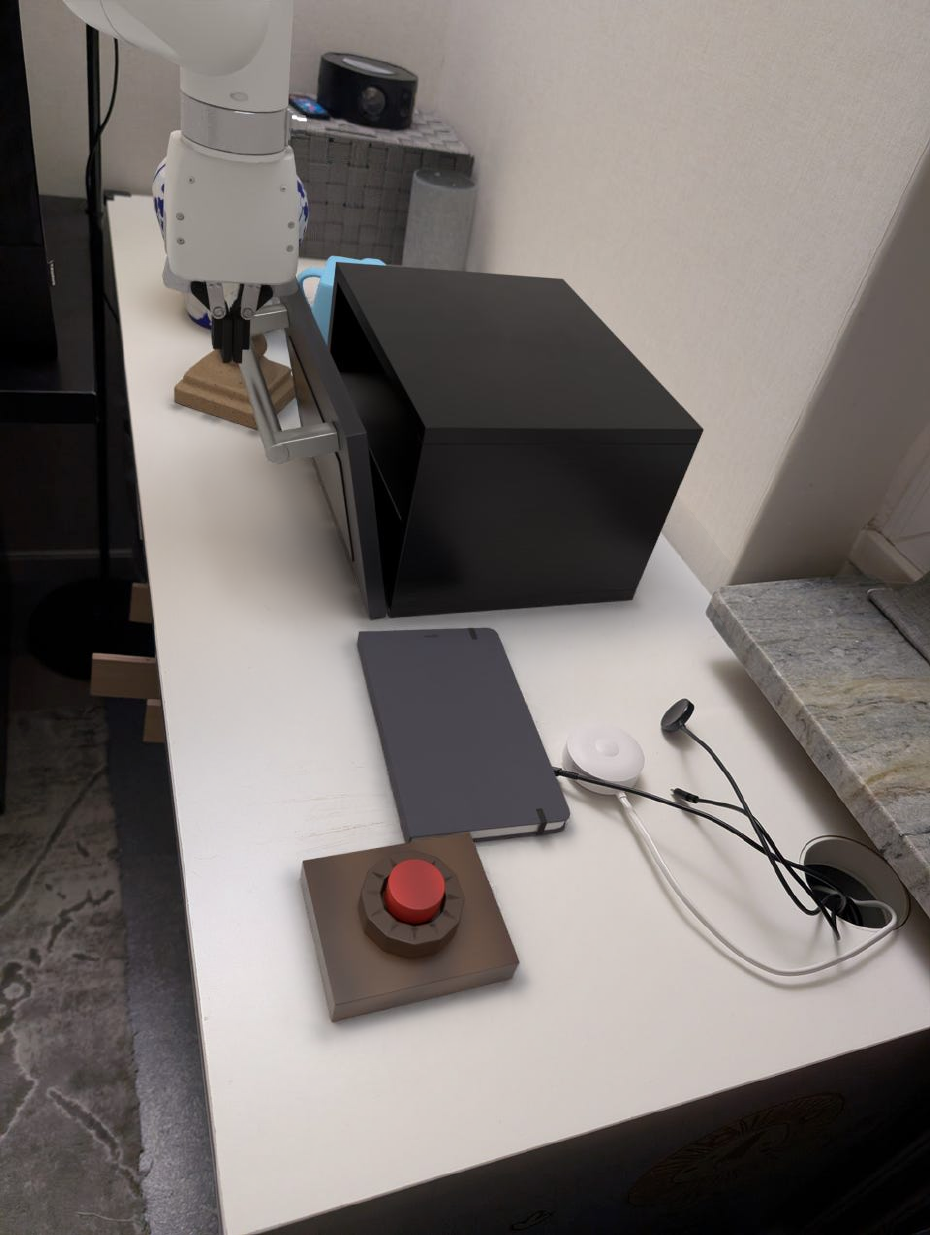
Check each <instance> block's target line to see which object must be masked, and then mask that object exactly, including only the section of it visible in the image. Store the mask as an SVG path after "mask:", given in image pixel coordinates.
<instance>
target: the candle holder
mask: <svg viewBox="0 0 930 1235" xmlns="http://www.w3.org/2000/svg"><path fill="white" fill-rule="evenodd" d="M222 286H223V293H224V300H225V301H226V302H227V305H228V308H229V311H230V307H232V304H233V302H234V301H235V300H236V295H237V290H238V283H222ZM266 305H273V304H272V302H271V300H269V301H268V302H267V303H266V304H264V305H263V306H266ZM207 314H208V317H209V319H210V321H211V322H212V314H211V312H210V311H209V310H208V309H207ZM266 332H267V331H265V332H259V333H253V334H250V337H251V340H252V343H253V346H254V349H255V352H256V355H257V358H258V361H259V364H260V367H261V370H262V373H263V376H264V379H265V382H266V385H267V388H268V391H269V394H270V397H271V400H272V403H273V405H274V408H275V411H276V414H277V415H278V414H279V413H280V412H281V411H282V410H283V409H284V408H285V407H286V406H287V405H288V404H289V403H290V402H291V401H292V400H294V399H295V398H296V394H295V388H294V382H293V376H292V371H291V367H289V366H287V365H285V364H282V363H279V362H276V361H274V360H271V359H269V358H268V357H266V356H265V354H266V353H267V350H268V341H267V338H266V337H265V335H264V334H265V333H266ZM173 391H174V392H173V401H174V402H175V403H177V404H178V405H179V404H180V405H181V406H185V407H188V408H190V409H193V410H197V411H199V412H203V413H206V414H209V415H211V416H214V417H218V418H221V419H224V420H227V421H229V422H232V423H236V424H238V425H242V426H245V427H248V428H251V429H254V430H258V426H257V423H256V420H255V416H254V413H253V410H252V407H251V403H250V400H249V397H248V393H247V390H246V387H245V383H244V380H243V377H242V374H241V370H240V367H239V364H236V363H235V362H233V359H232V362H229V363H223V362H222V358H221V354H220V351H219V349H213V350H212V351H210V352H209V353H208V354H206V355H205V356H204V357H202V358H201V359H199V360H198V361H197V362H196V363H195V364H193V365H192V366H191V367H189V369H188V370H187V371H186V372H184V374H183V376H182V379H181V380H180V381H179V382H177V384H175V385H174V388H173Z"/></svg>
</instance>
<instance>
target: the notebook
mask: <svg viewBox="0 0 930 1235" xmlns="http://www.w3.org/2000/svg"><path fill="white" fill-rule="evenodd" d="M356 647H357V650H358V651H357V652H358V654H359V658H360V663H361V667H362V671H363V676H364V680H365V682H366V687H367V692H368V696H369V700H370V704H371V708H372V713H373V714H374V715H373V716H374V720H375V724H376V728H377V732H378V737H379V740H380V745H381V749H382V753H383V757H384V761H385V765H386V770H387V774H388V777H389V781H390V785H391V790H392V794H393V798H394V801H395V806H396V810H397V815H398V818H399V822H400V827H401V830H402V835H403V839H404V843H409V842H415V841H421V840H427V839H432V838H438V837H444V836H450V835H456V834H462V833H468V832H470V834H471V836H472V839H473V842H474V843H476V842H484V841H485V842H486V841H492V840H500V839H501V840H503V839H509V838H510V839H511V838H519V837H528V836H529V837H530V836H539V835H541V836H542V835H545V834H546V835H547V834H553V833H554V834H555V833H560V832H562V831H563V830H565V828H566V821H568V820H570V817H571V811H570V807H569V805H568V803H567V800H566V797H565V796H564V793H563V792H564V791H563V790H562V787H561V785H560V783H559V780H558V778H557V775H556V772H555V771H554V768H553V766H552V762H551V760H550V759H549V755H548V753H547V751H546V748H545V746H544V743H543V741H542V738H541V736H540V733H539V731H538V729H537V725H536V723H535V721H534V719H533V716H532V713H531V711H530V709H529V706H528V704H527V702H526V699H525V696H524V695H523V692H522V689H521V687H520V684H519V682H518V680H517V676H516V674H515V672H514V670H513V667H512V664H511V662H510V659H509V658H508V655H507V652H506V650H505V647H504V645H503V642H502V640H501V638H500V634H499V633H498V632H497V630H495V629H494V628H491V627H459V628H456V627H455V628H428V629H425V628H424V629H423V628H422V629H397V630H396V629H395V630H394V629H393V630H391V629H389V630H365V631H363V630H361V631H360V630H359V631H358V634H357V640H356Z"/></svg>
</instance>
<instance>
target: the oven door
mask: <svg viewBox="0 0 930 1235" xmlns="http://www.w3.org/2000/svg"><path fill="white" fill-rule="evenodd" d="M296 279H297V277H296ZM297 285H298V291H297V292H296V293H295V294H293V295H287V296H282V297H279V300H278V301H279V302H278V303H277V304H273V305H266V306H262V307H261V308H260V309H259V310H258V311H256V314H255V317H254V318H253V319H251V320H250V334H253V333H259V332H265V331H266V332H271V331H277V330H283V329H284V335H285V341H286V347H287V354H288V358H289V364H290V369H291V375H292V376H293V382H294V388H295V394H296V396H295V400H296V406H297V412H298V417H299V423H300V427H297V428H296V427H295V428H289V429H286V430H283V428H282V426H281V424H280V421H279V418H278V414H276V411H275V408H274V405H273V403H272V400H271V397H270V394H269V391H268V388H267V385H266V382H265V379H264V376H263V373H262V370H261V367H260V364H259V361H258V358H257V355H256V352H255V349H254V346H253V343H252V340H251V337H250V347H249V350H243V353H242V364H239V367H240V370H241V374H242V377H243V380H244V383H245V387H246V390H247V393H248V397H249V400H250V403H251V407H252V410H253V413H254V416H255V420H256V423H257V426H258V429H257V430H258V433H259V436H260V439H261V443H262V446H263V450H264V453H265V456H266V459H267V460H268V462H270V463H271V464H274V465H281V464H283V463H287V462H291V461H296V460H302V459H307V458H310V459H311V462H312V465H313V468H314V470H315V473H316V475H317V479H318V482H319V484H320V486H321V489H322V492H323V495H324V497H325V500H326V503H327V506H328V509H329V511H330V515H331V517H332V519H333V522H334V525H335V528H336V531H337V534H338V536H339V538H340V541H341V544H342V546H343V549H344V552H345V555H346V559H347V562H348V563H349V566H350V569H351V571H352V575H353V578H354V580H355V583H356V585H357V589H358V591H359V594H360V596H361V599H362V603H363V605H364V608H365V610H366V613H367V616H368V619H369V620H374V619H377V618H382V617H386V616H388V613H387V610H386V605H385V596H384V587H383V578H382V568H381V559H380V550H379V541H378V532H377V523H376V514H375V505H374V495H373V486H372V477H371V468H370V459H369V450H368V441H367V433H366V430H365V428H364V426H363V424H362V422H361V419H360V417H359V415H358V413H357V410H356V408H355V406H354V404H353V402H352V399H351V397H350V395H349V393H348V391H347V388H346V386H345V384H344V382H343V380H342V377H341V375H340V373H339V371H338V369H337V366H336V364H335V362H334V360H333V358H332V355H331V353H330V351H329V349H328V347H327V344H326V342H325V340H324V338H323V336H322V333H321V331H320V329H319V327H318V325H317V322H316V320H315V318H314V316H313V314H312V311H311V309H312V308H311V309H310V307H311V306H310V307H309V305H310V304H309V305H308V303H307V300H308V299H307V300H306V298H307V297H306V298H305V296H306V295H305V296H304V294H303V292H302V289H301V287H300V285H299V283H298V281H297ZM266 332H265V333H266Z"/></svg>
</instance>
